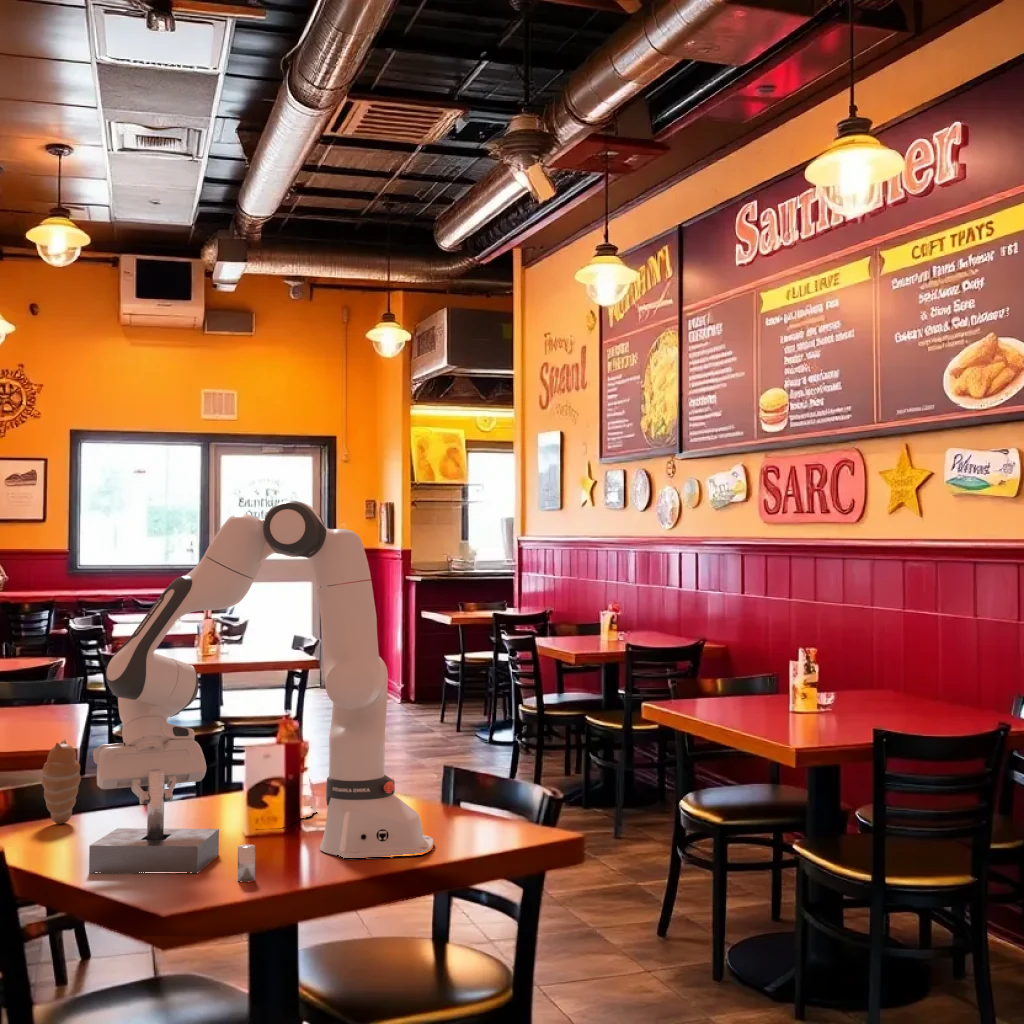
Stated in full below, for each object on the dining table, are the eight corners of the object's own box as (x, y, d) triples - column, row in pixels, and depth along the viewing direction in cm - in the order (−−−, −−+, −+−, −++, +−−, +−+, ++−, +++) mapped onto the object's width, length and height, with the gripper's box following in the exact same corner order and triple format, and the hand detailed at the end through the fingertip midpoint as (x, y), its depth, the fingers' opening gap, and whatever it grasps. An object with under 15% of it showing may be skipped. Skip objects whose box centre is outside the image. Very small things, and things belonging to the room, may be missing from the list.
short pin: (256, 878, 209) (256, 844, 209) (252, 882, 206) (252, 848, 206) (240, 878, 209) (240, 844, 209) (235, 882, 206) (236, 848, 206)
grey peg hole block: (218, 854, 226) (218, 828, 226) (197, 873, 212) (197, 846, 212) (116, 854, 226) (117, 828, 227) (88, 873, 212) (89, 845, 213)
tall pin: (165, 838, 221) (167, 769, 221) (160, 841, 218) (161, 771, 218) (150, 837, 221) (151, 769, 222) (144, 841, 218) (146, 771, 219)
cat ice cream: (49, 819, 257) (50, 738, 258) (85, 819, 258) (86, 737, 258) (34, 828, 248) (36, 744, 249) (72, 828, 249) (73, 743, 250)
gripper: (94, 735, 221) (101, 796, 212) (201, 728, 231) (213, 786, 222) (89, 755, 225) (96, 816, 216) (195, 748, 235) (206, 805, 226)
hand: (156, 801), depth 219 cm, fingers closed on tall pin, 3 cm apart
